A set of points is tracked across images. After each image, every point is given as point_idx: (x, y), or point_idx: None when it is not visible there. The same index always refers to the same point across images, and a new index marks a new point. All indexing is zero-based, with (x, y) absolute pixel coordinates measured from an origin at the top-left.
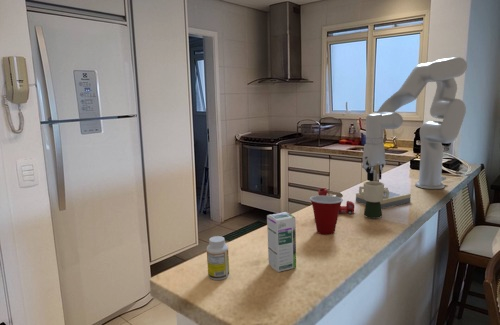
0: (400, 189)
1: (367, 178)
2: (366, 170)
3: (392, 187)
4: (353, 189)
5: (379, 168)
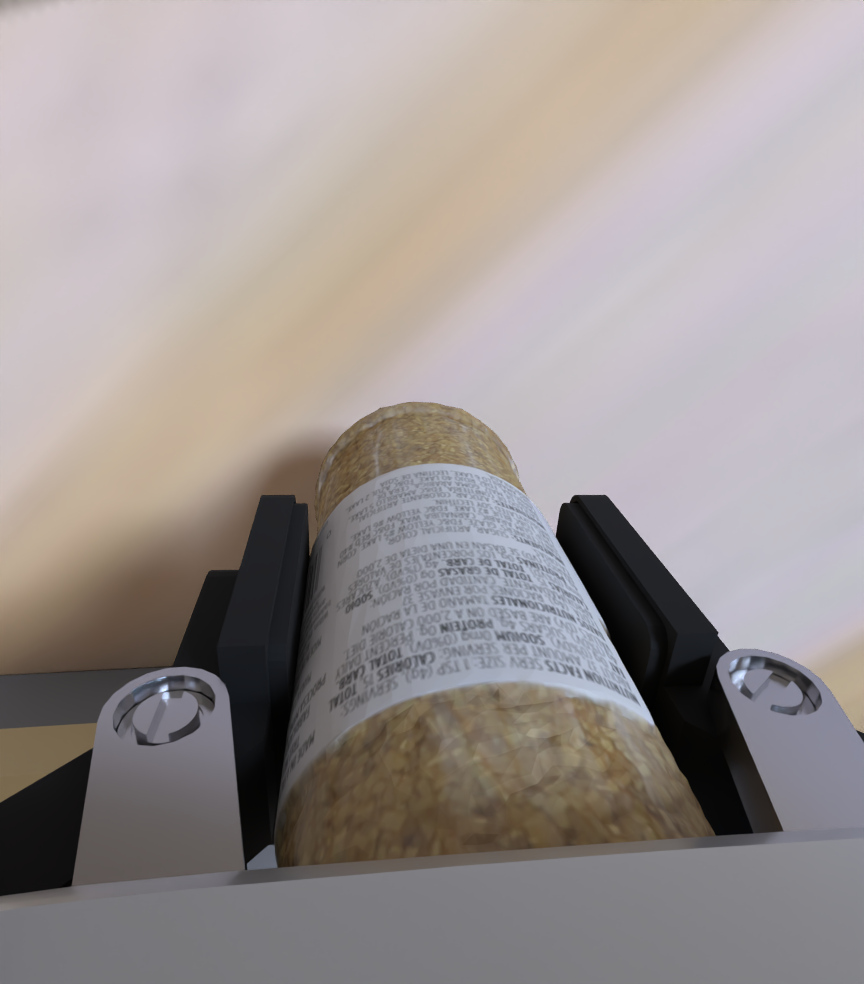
0: (810, 565)
1: (255, 524)
2: (6, 844)
3: (857, 429)
4: (160, 51)
5: (726, 830)
